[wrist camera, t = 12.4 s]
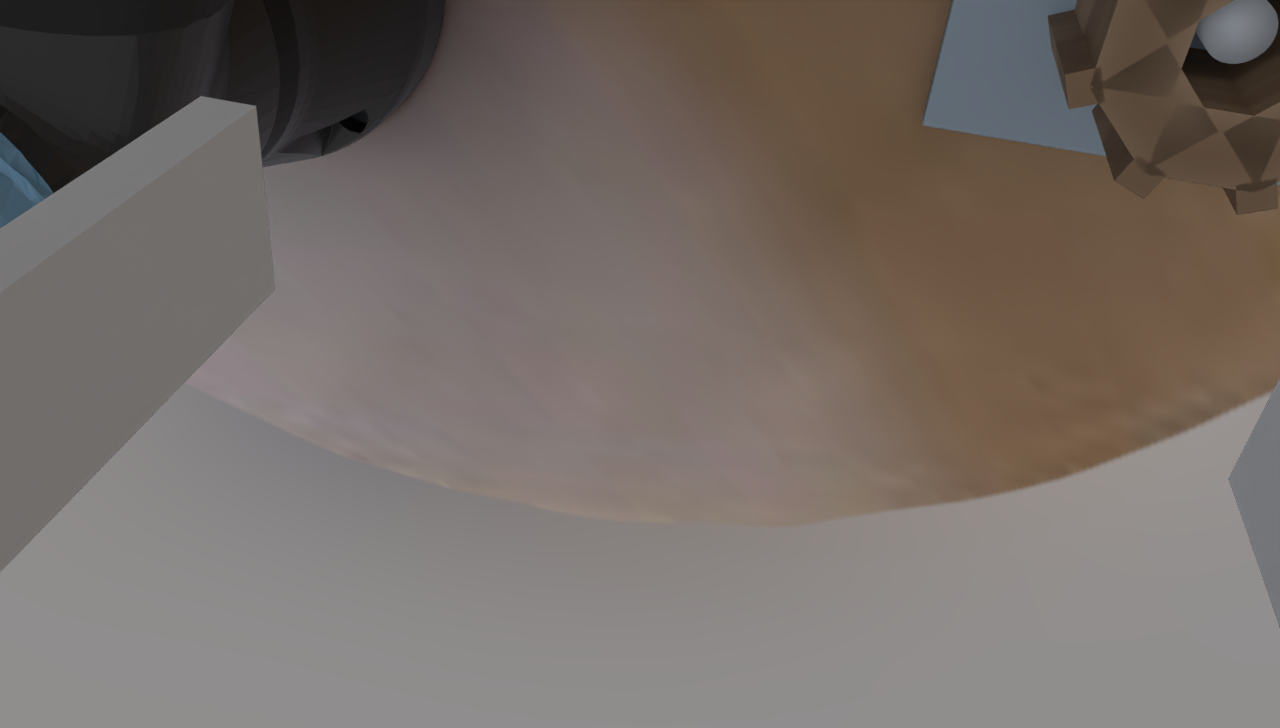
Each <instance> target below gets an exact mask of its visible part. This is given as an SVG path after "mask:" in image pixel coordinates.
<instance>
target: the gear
mask: <svg viewBox="0 0 1280 728" xmlns="http://www.w3.org/2000/svg"><path fill="white" fill-rule="evenodd" d="M1232 1H1234V0H1077V2H1076V5H1075V9H1074V10H1071V11H1066V12H1062V13H1057V14H1053V15H1048V24H1049V32H1050V41H1051V48H1052V52H1053V55H1054V59H1055V62H1056V66H1057V69H1058V73H1059V76H1060V80H1061V84H1062V87H1063V91H1064V94H1065V98H1066V101H1067V105H1068V108H1069V109H1074V108H1080V107H1085V106H1090V105H1095V104H1097V105H1096V106H1095V107H1094V109H1093V110H1092V114H1093V117H1094V120H1095V123H1096V126H1097V129H1098V132H1099V135H1100V138H1101V141H1102V144H1103V147H1104V150H1105V153H1106V157H1107V160H1108V163H1109V166H1110V169H1111V172H1112V175H1113V178H1114V181H1116V182H1117V183H1119V184H1120V185H1122V186H1124V187H1125V188H1127V189H1128V190H1130V191H1132V192H1133V193H1135V194H1137V195H1138V196H1140V197H1141V198H1143V199H1144V198H1145V197H1146V196H1147V195H1148V194H1149V193H1150V192H1151V191H1152V190H1153V188H1154V187H1155V186H1156V185H1157V184H1158V183H1159V182H1160V181H1161V180H1162V179H1163V178H1169V179H1175V180H1181V181H1187V182H1193V183H1199V184H1205V185H1210V186H1216V187H1222V188H1223V189H1224V190H1225V192H1226V194H1227V196H1228V198H1229V200H1230V202H1231V204H1232V206H1233V208H1234V210H1235V212H1236V214H1237V215H1240V214H1246V213H1252V212H1258V211H1265V210H1271V209H1277V183H1278V182H1280V0H1267V1H1268V2H1269V3H1270V4H1271V6H1272V7H1273V8H1274V10H1275V11H1276V14H1277V17H1278V30H1277V34H1276V36H1275V39H1274V41H1273V42H1272V44H1271V45H1270V46H1269V47H1268V49H1267V50H1266V51H1264V52H1263V53H1262V54H1261V55H1259V56H1258V57H1256V58H1254V59H1252V60H1250V61H1247V62H1244V63H1239V64H1228V63H1223V62H1220V61H1218V60H1216V59H1215V58H1213V57H1212V56H1211V55H1210V54H1209V53H1208V51H1207V50H1204V49H1197V48H1191V47H1190V45H1191V42H1192V39H1193V37H1194V34H1195V31H1196V29H1197V26H1198V23H1199V21H1200V20H1202V19H1203V18H1205V17H1207V16H1208V15H1210V14H1212V13H1213V12H1215V11H1217V10H1218V9H1220V8H1222V7H1223V6H1225V5H1227V4H1228V3H1230V2H1232Z"/></svg>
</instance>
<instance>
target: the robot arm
mask: <svg viewBox="0 0 1280 728" xmlns="http://www.w3.org/2000/svg"><path fill="white" fill-rule="evenodd" d="M444 3H445V0H0V572H1V571H2V570H3V569H4V568H5V567H6V566H7V565H8V564H9V563H10V562H11V561H12V560H13V559H14V558H15V556H17V555H18V554H19V552H21V550H22V549H23V548H24V547H25V546H26V545H27V544H28V543H29V542H30V541H31V540H32V539H33V538H34V537H35V536H36V535H37V534H38V533H39V532H40V531H41V530H42V529H43V528H44V527H45V526H46V525H47V524H48V523H49V522H50V521H51V520H52V519H53V518H54V517H55V515H56V514H57V513H58V512H59V511H60V510H61V509H62V508H63V507H64V506H65V505H66V504H67V503H68V502H69V501H70V500H71V499H72V498H73V497H74V496H75V495H76V494H77V493H78V492H79V491H80V490H81V489H82V487H83V486H85V485H86V484H87V483H88V481H89V480H90V479H91V478H92V477H93V476H94V475H95V474H96V473H97V472H98V471H99V470H100V469H101V468H102V467H103V466H104V465H105V464H106V463H107V462H108V461H109V460H110V459H111V458H112V457H113V456H114V455H115V454H116V453H117V452H118V451H119V450H120V448H121V447H122V446H123V445H124V444H125V443H126V442H127V441H128V440H129V439H130V438H131V437H132V436H133V435H134V434H135V433H136V432H137V431H138V430H139V429H140V428H141V427H142V426H143V425H144V424H145V423H146V422H147V421H148V420H149V419H150V418H151V417H152V416H153V414H154V413H155V412H156V411H157V410H158V409H159V408H160V407H161V406H162V405H163V404H164V403H165V402H166V401H167V400H168V399H169V398H170V397H171V396H172V395H173V394H174V393H175V392H176V391H177V390H178V389H179V388H180V387H181V385H183V384H184V383H185V382H186V381H187V380H188V379H189V377H190V376H191V375H192V374H193V373H194V372H195V371H196V370H197V369H198V368H199V367H200V366H201V365H202V364H203V363H204V362H205V361H206V360H207V359H208V358H209V357H210V356H211V355H212V354H213V353H214V352H215V351H216V350H217V349H218V348H219V347H220V346H221V345H222V343H223V342H224V341H225V340H226V339H227V338H228V337H229V336H230V335H231V334H232V333H233V332H234V331H235V330H236V329H237V328H238V327H239V326H240V325H241V324H242V323H243V322H244V321H245V320H246V319H247V318H248V317H249V316H250V315H251V314H252V313H253V312H254V311H255V310H256V308H257V307H258V306H259V305H260V304H261V303H262V302H263V301H264V300H265V299H266V298H267V297H268V296H269V295H270V294H271V293H272V292H273V291H274V290H275V281H274V271H273V262H272V252H271V243H270V234H269V224H268V215H267V205H266V196H265V186H264V177H263V167H266V166H272V165H278V164H283V163H289V162H295V161H300V160H306V159H312V158H316V157H320V156H324V155H327V154H330V153H332V152H335V151H338V150H340V149H342V148H344V147H347V146H349V145H350V144H352V143H354V142H356V141H358V140H359V139H361V138H363V137H364V136H366V135H367V134H368V133H370V132H371V131H373V130H374V129H375V128H376V127H377V126H378V125H380V124H381V123H382V122H383V121H384V120H385V119H386V118H387V117H388V116H389V115H391V114H392V113H393V112H394V111H395V110H396V109H397V108H398V107H399V106H400V105H401V104H402V103H403V102H404V101H405V100H406V99H407V98H408V97H409V95H410V94H411V93H412V92H413V90H414V89H415V88H416V86H417V85H418V83H419V82H420V80H421V79H422V77H423V75H424V73H425V72H426V70H427V68H428V66H429V63H430V61H431V59H432V57H433V54H434V51H435V48H436V45H437V42H438V38H439V35H440V31H441V25H442V20H443V12H444ZM1229 482H1230V485H1231V488H1232V491H1233V493H1234V496H1235V499H1236V502H1237V505H1238V508H1239V511H1240V514H1241V517H1242V520H1243V522H1244V525H1245V528H1246V531H1247V534H1248V536H1249V539H1250V543H1251V545H1252V548H1253V551H1254V554H1255V557H1256V560H1257V563H1258V566H1259V568H1260V572H1261V574H1262V577H1263V580H1264V583H1265V586H1266V589H1267V591H1268V595H1269V598H1270V600H1271V603H1272V606H1273V609H1274V612H1275V615H1276V618H1277V621H1278V623H1279V626H1280V378H1279V380H1278V382H1277V384H1276V386H1275V388H1274V390H1273V392H1272V394H1271V396H1270V398H1269V400H1268V402H1267V404H1266V406H1265V408H1264V410H1263V412H1262V414H1261V416H1260V418H1259V420H1258V422H1257V424H1256V425H1255V427H1254V429H1253V431H1252V433H1251V435H1250V437H1249V439H1248V441H1247V443H1246V445H1245V447H1244V449H1243V451H1242V453H1241V455H1240V457H1239V459H1238V461H1237V463H1236V465H1235V467H1234V469H1233V471H1232V473H1231V475H1230V476H1229Z"/></svg>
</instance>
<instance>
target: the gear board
mask: <svg viewBox="0 0 1280 728" xmlns="http://www.w3.org/2000/svg"><path fill="white" fill-rule="evenodd" d="M1076 2H1077V0H952V2H951V6H950V10H949V14H948V18H947V22H946V26H945V30H944V34H943V38H942V42H941V46H940V50H939V54H938V58H937V62H936V66H935V70H934V74H933V78H932V82H931V86H930V90H929V94H928V98H927V102H926V106H925V110H924V114H923V126H928V127H934V128H940V129H946V130H952V131H958V132H964V133H970V134H976V135H982V136H988V137H994V138H1000V139H1006V140H1012V141H1018V142H1024V143H1030V144H1036V145H1041V146H1047V147H1053V148H1059V149H1065V150H1071V151H1077V152H1083V153H1089V154H1095V155H1101V156H1106V153H1105V150H1104V147H1103V144H1102V141H1101V138H1100V135H1099V132H1098V129H1097V126H1096V123H1095V120H1094V117H1093V114H1092V110H1093V109H1094V107H1095V106H1096V105H1097V104H1095V105H1090V106H1085V107H1080V108H1074V109H1069V108H1068V105H1067V101H1066V98H1065V94H1064V91H1063V87H1062V84H1061V80H1060V76H1059V73H1058V69H1057V66H1056V62H1055V59H1054V55H1053V52H1052V48H1051V41H1050V32H1049V24H1048V15H1053V14H1057V13H1062V12H1066V11H1071V10H1074V9H1075V5H1076ZM1277 30H1278V17H1277V14H1276V11H1275V10H1274V8H1273V7H1272V6H1271V4H1270V3H1269V2H1268V1H1267V0H1234V1H1232V2H1230V3H1228V4H1227V5H1225V6H1223V7H1222V8H1220V9H1218V10H1217V11H1215V12H1213V13H1212V14H1210V15H1208V16H1207V17H1205V18H1203V19H1202V20H1200V21H1199V23H1198V26H1197V29H1196V31H1195V34H1194V37H1193V39H1192V42H1191V45H1190V47H1191V48H1197V49H1204V50H1207V51H1208V53H1209V54H1210V55H1211V56H1212V57H1213V58H1215V59H1216V60H1218V61H1220V62H1223V63H1228V64H1239V63H1244V62H1247V61H1250V60H1252V59H1254V58H1256V57H1258V56H1259V55H1261V54H1262V53H1263V52H1264V51H1266V50H1267V49H1268V47H1269V46H1270V45H1271V44H1272V42H1273V41H1274V39H1275V36H1276V34H1277ZM1277 185H1279V186H1280V182H1278V183H1277Z"/></svg>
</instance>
